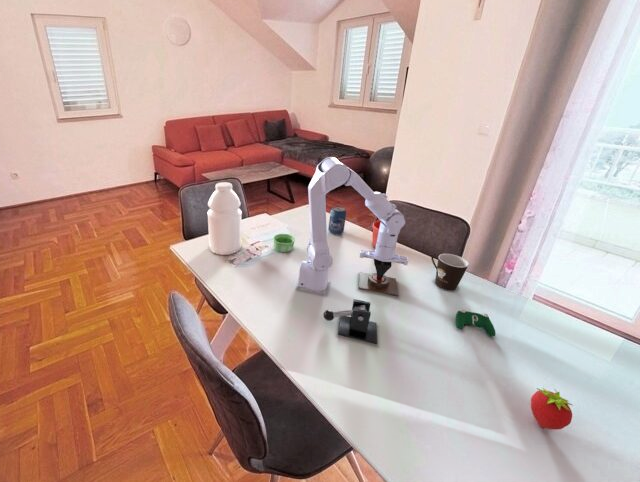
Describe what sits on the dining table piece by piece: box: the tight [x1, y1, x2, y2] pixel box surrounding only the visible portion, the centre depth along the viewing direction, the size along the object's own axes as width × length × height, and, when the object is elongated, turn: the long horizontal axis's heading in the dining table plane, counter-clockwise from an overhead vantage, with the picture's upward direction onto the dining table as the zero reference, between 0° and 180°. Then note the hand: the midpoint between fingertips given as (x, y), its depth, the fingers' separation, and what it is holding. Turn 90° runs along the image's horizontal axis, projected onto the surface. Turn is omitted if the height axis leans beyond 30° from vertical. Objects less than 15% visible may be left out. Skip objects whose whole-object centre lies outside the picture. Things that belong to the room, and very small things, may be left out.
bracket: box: [337, 298, 378, 345], centre depth 87 cm, size 10×8×9 cm
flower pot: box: [372, 220, 402, 248], centre depth 132 cm, size 11×11×10 cm
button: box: [373, 275, 384, 282], centre depth 107 cm, size 4×4×2 cm
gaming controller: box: [455, 309, 496, 337], centre depth 89 cm, size 9×4×6 cm
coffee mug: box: [431, 253, 470, 292], centre depth 108 cm, size 12×9×10 cm
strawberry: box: [530, 387, 573, 431], centre depth 62 cm, size 6×8×10 cm
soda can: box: [328, 205, 347, 236], centre depth 144 cm, size 7×7×12 cm
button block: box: [358, 271, 399, 297], centre depth 107 cm, size 12×10×3 cm
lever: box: [323, 305, 367, 322], centre depth 88 cm, size 12×3×3 cm, turn 69°
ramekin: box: [272, 233, 296, 253], centre depth 131 cm, size 9×9×4 cm
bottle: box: [206, 181, 243, 256], centre depth 128 cm, size 14×14×28 cm
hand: (378, 278), depth 107 cm, fingers closed, pressing on button
